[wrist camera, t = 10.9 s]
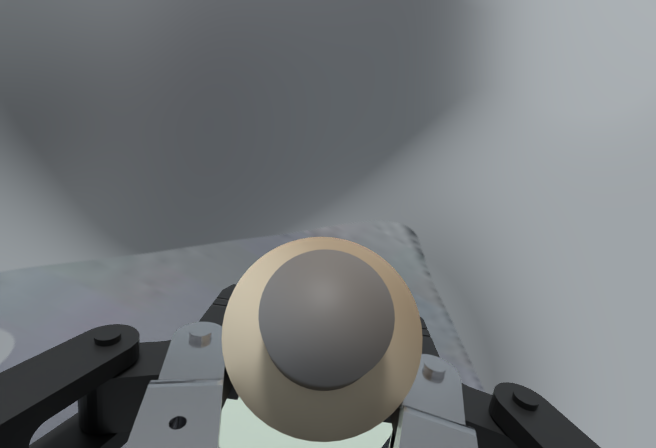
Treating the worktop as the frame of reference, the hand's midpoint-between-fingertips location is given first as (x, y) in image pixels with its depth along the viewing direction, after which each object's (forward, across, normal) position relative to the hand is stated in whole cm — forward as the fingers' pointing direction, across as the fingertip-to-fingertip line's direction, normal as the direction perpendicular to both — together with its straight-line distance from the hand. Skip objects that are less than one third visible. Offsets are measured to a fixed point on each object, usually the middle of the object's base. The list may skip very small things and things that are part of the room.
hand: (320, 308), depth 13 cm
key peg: (+2, 0, +5) cm, 5 cm away
